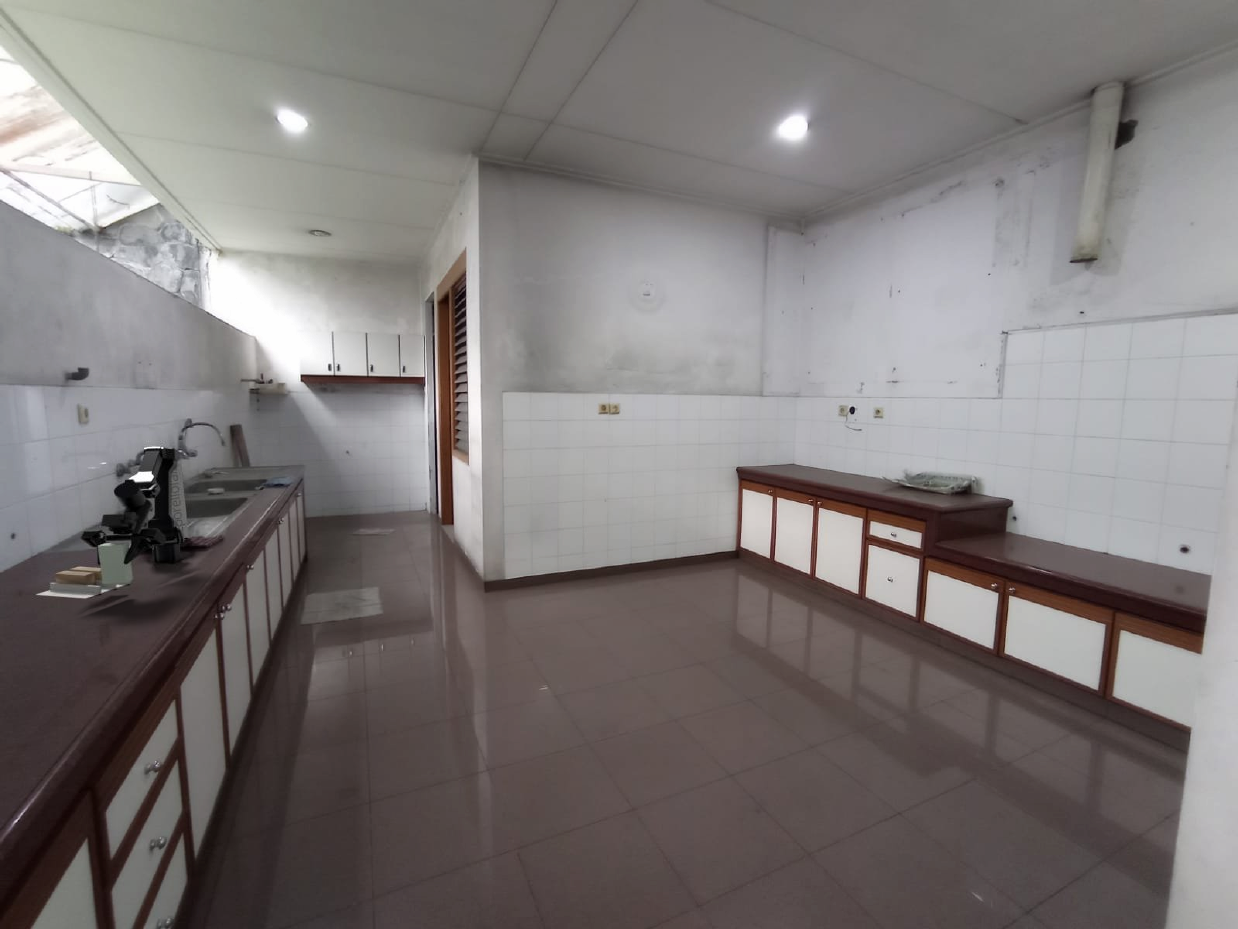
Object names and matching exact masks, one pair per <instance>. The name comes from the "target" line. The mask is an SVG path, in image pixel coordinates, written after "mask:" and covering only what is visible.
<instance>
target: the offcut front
mask: <svg viewBox="0 0 1238 929" xmlns="http://www.w3.org/2000/svg"><path fill="white" fill-rule="evenodd" d="M69 571H76V572H91V573H94V578H95V580H102V574H101V567H90V566H89V567H88V566H77V567H73V568H70V569H69Z"/></svg>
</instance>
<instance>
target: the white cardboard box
mask: <svg viewBox="0 0 1238 929" xmlns="http://www.w3.org/2000/svg"><path fill="white" fill-rule="evenodd" d="M139 467H140V465H137V466H130V473H131V477H132V476H134V475H136V474H137V472H138V470H139ZM185 499H186V498H185V489H184V479H183V469H182V462H178V466H177V467H176V469H175V470H174V471H173V473H172V516H173V517H174V519H175V520H176V521H177V522H178V526H179V528H180V530H181V531H182V534H183V537H189V528H188V519H187V518H188V517H187V516H188V515H187V507H186V500H185ZM147 500H149V501H150V502H151V504H152V508H153V511H152V512H149V514H148V517H147V519H146V521H145V522H146V523H147V526H146V527H143V528H142V529H145V528H148V521H149V520H151V519H152V518H153V516H154V498H149V499H147ZM189 538H190V537H189Z"/></svg>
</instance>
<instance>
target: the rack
mask: <svg viewBox="0 0 1238 929" xmlns="http://www.w3.org/2000/svg"><path fill="white" fill-rule="evenodd" d="M131 583H132V582H131V581H129V582H127V583H110V584H103V582H102V580H95V586H93V585H79V584H65V583H56V582H49V590H46V591H44V592H43V591H42V592H40V593H36V594H35V595H36V596H44V597H45V596H47V597H62V598H73V599H88V598H90V597H94V596H97V595H99V594H103V593H106V592H109V591H111V590H114V589H117V588H120V587H123V586H127V585H129V584H131Z"/></svg>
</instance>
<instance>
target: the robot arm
mask: <svg viewBox="0 0 1238 929" xmlns="http://www.w3.org/2000/svg"><path fill="white" fill-rule="evenodd" d="M180 458H181V456H180V451H179V450H178V449H175V447H174V446H173V447H172V446H171V447H165V446H164V447H163V446H147V447H144V448H143V457H142V460H141V462H140V465H139V466H140V467H139V470H138V472H137V474H136V475H134V476H132V475H131V477H129V478H128V479H124V481H123V482H122V483H120V484H118V485H117V486H115V488H114V489H113V494H114V496H115V497H116V499H117V500H118V502H119V503H120V505H121V506H122V507H123V508H124V509H123V511H122V514H120V513H113V514H111V513H109V514H107V513H106V514H103V515H102V517H101V524H100V526H101V527H106V528H108V531H109V532H113V533H109V534H108V533H106V532H104V531H103V530H102V529H87V530H84V531H83V532H82V534H81V536H80V539H81V540H82V541H83V542H84V543H86V544H87V545H89V546H90V547H91V548H96V555H97V560H96V563H97V565H98V566H100V559H99V551H98V546H99V545H102V544H104V543H112V542H126V541H127V542H128V541H130V545H129V550H128V552H127V554H126V557H125V559H124V564H125V565H126V564H128V563H129V562H131V563H132V561H133V560H135V558H137V557H138V556H140V555H141V554H143V553H144V552H146V551H147V550H149V549H151V548H152V547H153V548H152V550H151V551H152V559H153V561H152V563H155V564H156V563H157V564H166V565H167V564H168V565H169V564H174V563H177V562H178V561H180V560H184V558H185V557H184V556H182V555H181V547H180V544H183V543H185V539H184V537H183V534H182V531H181V530H180V528H179V526H178V522H177V521H176V520H175V519H174V517H173V516H172V473H173V471H174V470H175V469H176V467H177V466H178V463H179V461H180ZM149 498H154V516H153V518H152V519H151V520H149V521H148V528H145V529H142V528H143V527H146V526H147V523H146V522H145V521H146V519H147V517H148V514H149V512H152V511H153V508H152V504H151V502H150V501H149V500H147V499H149ZM175 539H176V540H175Z"/></svg>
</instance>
